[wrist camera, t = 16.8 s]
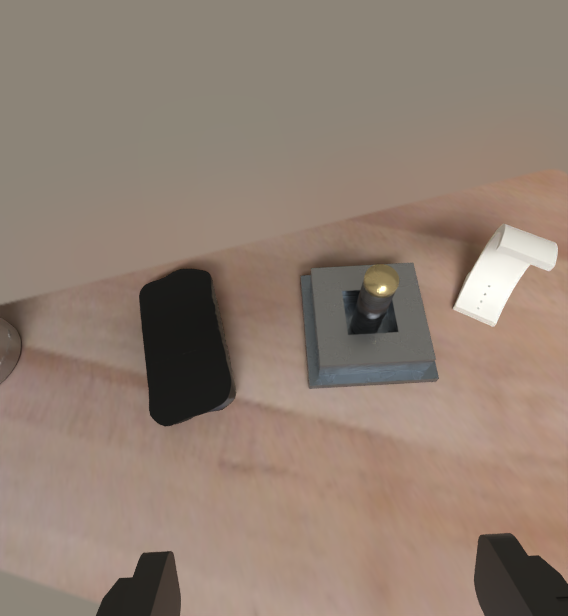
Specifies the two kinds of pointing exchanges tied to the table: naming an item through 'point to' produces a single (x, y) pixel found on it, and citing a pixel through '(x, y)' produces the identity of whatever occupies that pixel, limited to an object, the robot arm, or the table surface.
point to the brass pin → (374, 298)
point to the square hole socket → (364, 347)
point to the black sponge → (184, 347)
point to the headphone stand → (502, 271)
